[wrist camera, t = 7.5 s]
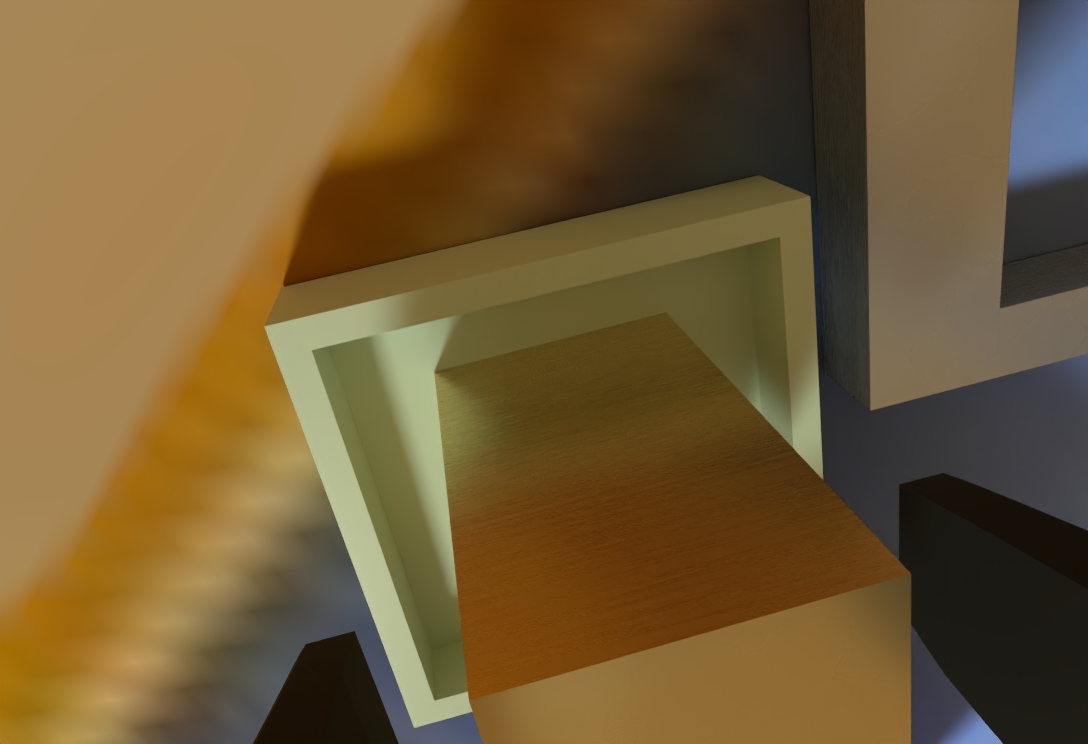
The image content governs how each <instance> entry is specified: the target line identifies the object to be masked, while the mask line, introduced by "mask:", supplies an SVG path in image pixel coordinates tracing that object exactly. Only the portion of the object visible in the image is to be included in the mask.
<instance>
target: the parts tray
mask: <svg viewBox="0 0 1088 744" xmlns="http://www.w3.org/2000/svg"><path fill="white" fill-rule="evenodd" d="M665 312H666V313H667V314H668V315H669V316H670V317H671V318H672V319H673V320H674V321H675V323H676V324H677V325H678V326H679V327H680V328H681V329H682V330H683V331H684V332H685V333H686V334H687V335H688V336H689V337H690V338H691V340H692V341H693V342H694V343H695V344H696V345H697V346H698V347H699V348H700V349H701V350H702V351H703V352H704V353H705V354H706V356H707V357H708V358H709V359H710V360H711V361H712V362H713V363H714V364H715V365H716V366H717V367H718V368H719V369H720V370H721V372H722V373H723V374H724V375H725V376H726V377H727V378H728V379H729V380H730V381H731V382H732V383H733V384H734V385H735V386H736V388H737V389H738V390H739V391H740V392H741V393H742V394H743V395H744V396H745V397H746V398H747V399H748V400H749V401H750V402H751V404H752V405H753V406H754V407H755V408H756V409H757V410H758V411H759V412H760V413H761V414H762V415H763V416H764V417H765V418H766V420H767V421H768V422H769V423H770V424H771V425H772V426H773V427H774V428H775V429H776V430H777V431H778V432H779V433H780V434H781V436H782V437H783V438H784V439H785V440H786V441H787V442H788V443H789V444H790V445H791V446H792V447H793V448H794V449H795V450H796V452H797V453H798V454H799V455H800V456H801V457H802V458H803V459H804V460H805V461H806V462H807V463H808V464H809V465H810V466H811V468H812V469H813V470H814V471H815V472H816V473H817V474H818V475H819V476H820V477H821V478H822V479H823V464H822V442H821V420H820V398H819V376H818V354H817V332H816V310H815V288H814V266H813V244H812V222H811V200H810V196H809V195H806V194H804V193H801V192H799V191H797V190H794V189H792V188H789V187H787V186H784V185H782V184H780V183H777V182H775V181H772V180H770V179H767V178H765V177H763V176H760V175H757V176H753V177H749V178H744V179H740V180H736V181H732V182H727V183H723V184H719V185H715V186H710V187H706V188H702V189H698V190H693V191H689V192H685V193H681V194H676V195H672V196H668V197H664V198H659V199H655V200H651V201H647V202H642V203H638V204H634V205H630V206H625V207H621V208H617V209H613V210H608V211H604V212H600V213H596V214H591V215H587V216H583V217H579V218H574V219H570V220H566V221H562V222H557V223H553V224H549V225H545V226H541V227H536V228H532V229H528V230H524V231H519V232H515V233H511V234H507V235H502V236H498V237H494V238H490V239H485V240H481V241H477V242H473V243H468V244H464V245H460V246H456V247H451V248H447V249H443V250H439V251H434V252H430V253H426V254H422V255H417V256H413V257H409V258H405V259H400V260H396V261H392V262H388V263H383V264H379V265H375V266H371V267H366V268H362V269H358V270H354V271H349V272H345V273H341V274H337V275H332V276H328V277H324V278H320V279H315V280H311V281H307V282H303V283H298V284H294V285H290V286H286V287H282V288H281V290H280V292H279V295H278V297H277V299H276V301H275V304H274V306H273V308H272V310H271V313H270V315H269V317H268V319H267V322H266V324H265V326H264V327H265V330H266V332H267V335H268V338H269V340H270V343H271V346H272V348H273V351H274V354H275V356H276V359H277V362H278V364H279V367H280V370H281V372H282V375H283V378H284V381H285V383H286V386H287V389H288V391H289V394H290V397H291V399H292V402H293V405H294V407H295V410H296V413H297V415H298V418H299V421H300V423H301V426H302V429H303V431H304V434H305V437H306V439H307V442H308V445H309V447H310V450H311V453H312V455H313V458H314V461H315V464H316V466H317V469H318V472H319V474H320V477H321V480H322V482H323V485H324V488H325V490H326V493H327V496H328V498H329V501H330V504H331V506H332V509H333V512H334V514H335V517H336V520H337V522H338V525H339V528H340V530H341V533H342V536H343V538H344V541H345V544H346V547H347V549H348V552H349V555H350V557H351V560H352V563H353V565H354V568H355V571H356V573H357V576H358V579H359V581H360V584H361V587H362V589H363V592H364V595H365V597H366V600H367V603H368V605H369V608H370V611H371V613H372V616H373V619H374V622H375V624H376V627H377V630H378V632H379V635H380V638H381V640H382V643H383V646H384V648H385V651H386V654H387V656H388V659H389V662H390V664H391V667H392V670H393V672H394V675H395V678H396V680H397V683H398V686H399V688H400V691H401V694H402V696H403V699H404V702H405V705H406V707H407V710H408V713H409V715H410V718H411V721H412V723H413V726H414V728H416V727H419V726H423V725H426V724H430V723H434V722H437V721H441V720H444V719H448V718H451V717H455V716H459V715H462V714H466V713H469V712H472V709H471V706H470V703H469V697H468V688H467V678H466V669H465V659H464V650H463V640H462V631H461V621H460V612H459V602H458V593H457V583H456V574H455V564H454V555H453V546H452V536H451V527H450V517H449V508H448V498H447V489H446V479H445V470H444V460H443V451H442V441H441V432H440V422H439V413H438V403H437V394H436V384H435V375H434V372H435V371H439V370H443V369H447V368H451V367H455V366H459V365H462V364H466V363H470V362H474V361H478V360H482V359H486V358H490V357H494V356H498V355H501V354H505V353H509V352H513V351H517V350H521V349H525V348H529V347H533V346H537V345H540V344H544V343H548V342H552V341H556V340H560V339H564V338H568V337H572V336H576V335H579V334H583V333H587V332H591V331H595V330H599V329H603V328H607V327H611V326H614V325H618V324H622V323H626V322H630V321H634V320H638V319H642V318H646V317H650V316H653V315H657V314H661V313H665Z"/></svg>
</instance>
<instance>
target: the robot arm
mask: <svg viewBox="0 0 1088 744" xmlns="http://www.w3.org/2000/svg"><path fill="white" fill-rule="evenodd" d="M899 561H900V562H901V564H902V565H903V566H904V567H905V568H906V569H907V570H908V571H909V572H910V573H911V624H912V626H913V628H914V629H915V631H916V632H917V634H918V635H919V637H920V638H921V640H922V642H923V643H924V645H925V646H926V647H927V649H928V650H929V652H930V653H931V655H932V656H933V658H934V659H935V661H936V662H937V664H938V665H939V667H940V668H941V669H942V671H943V672H944V674H945V675H946V676H947V677H948V679H949V680H950V681H951V682H952V684H953V685H954V686H955V687H956V688H957V690H958V691H959V692H960V693H961V694H962V696H963V697H964V698H965V699H966V700H967V701H968V703H969V704H970V705H971V706H972V707H973V709H974V710H975V711H976V712H977V713H978V715H979V716H980V717H981V718H982V719H983V720H984V722H985V723H986V724H987V725H988V726H989V728H990V729H991V730H992V731H993V732H994V733H995V735H996V736H997V737H998V738H999V739H1000V740H1001V742H1002V743H1003V744H1088V531H1087V530H1085V529H1082V528H1080V527H1077V526H1075V525H1073V524H1070V523H1068V522H1065V521H1063V520H1060V519H1058V518H1055V517H1053V516H1051V515H1048V514H1046V513H1043V512H1041V511H1039V510H1036V509H1034V508H1031V507H1029V506H1026V505H1024V504H1022V503H1019V502H1017V501H1014V500H1012V499H1009V498H1007V497H1005V496H1002V495H1000V494H997V493H995V492H992V491H990V490H987V489H985V488H982V487H980V486H977V485H975V484H972V483H970V482H967V481H964V480H962V479H959V478H956V477H953V476H950V475H948V474H945V473H941V474H938V475H934V476H930V477H926V478H923V479H919V480H915V481H912V482H908V483H904V484H900V485H899ZM253 744H398V741H397V739H396V736H395V733H394V731H393V728H392V726H391V723H390V721H389V718H388V716H387V713H386V710H385V708H384V705H383V703H382V700H381V698H380V695H379V693H378V690H377V687H376V685H375V682H374V680H373V677H372V675H371V672H370V669H369V667H368V664H367V662H366V659H365V657H364V654H363V652H362V649H361V646H360V644H359V641H358V639H357V636H356V634H355V631H353V632H350V633H346V634H342V635H339V636H335V637H331V638H327V639H324V640H320V641H316V642H312V643H309V644H306V645H305V647H304V648H303V650H302V651H301V653H300V654H299V656H298V658H297V660H296V662H295V664H294V666H293V668H292V670H291V672H290V674H289V676H288V677H287V679H286V681H285V683H284V685H283V687H282V689H281V691H280V693H279V695H278V697H277V699H276V701H275V703H274V705H273V707H272V709H271V710H270V712H269V714H268V716H267V718H266V720H265V722H264V724H263V726H262V728H261V729H260V731H259V733H258V735H257V737H256V739H255V741H254V743H253Z"/></svg>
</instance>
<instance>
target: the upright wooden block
mask: <svg viewBox="0 0 1088 744" xmlns="http://www.w3.org/2000/svg"><path fill="white" fill-rule="evenodd" d="M434 375H435V384H436V394H437V403H438V413H439V422H440V432H441V441H442V451H443V460H444V470H445V479H446V489H447V498H448V508H449V517H450V527H451V536H452V546H453V555H454V564H455V574H456V583H457V593H458V602H459V612H460V621H461V631H462V640H463V650H464V659H465V669H466V678H467V688H468V697H469V703H470V706H471V709H472V712H473V715H474V717H475V720H476V723H477V726H478V729H479V732H480V735H481V738H482V741H483V744H911V573H910V572H909V571H908V570H907V569H906V568H905V567H904V566H903V565H902V564H901V562H900V561H899V560H898V559H897V558H896V557H895V556H894V555H893V554H892V553H891V552H890V551H889V550H888V549H887V548H886V546H885V545H884V544H883V543H882V542H881V541H880V540H879V539H878V538H877V537H876V536H875V535H874V534H873V533H872V532H871V530H870V529H869V528H868V527H867V526H866V525H865V524H864V523H863V522H862V521H861V520H860V519H859V518H858V517H857V516H856V514H855V513H854V512H853V511H852V510H851V509H850V508H849V507H848V506H847V505H846V504H845V503H844V502H843V501H842V500H841V498H840V497H839V496H838V495H837V494H836V493H835V492H834V491H833V490H832V489H831V488H830V487H829V486H828V485H827V484H826V482H825V481H824V480H823V479H822V478H821V477H820V476H819V475H818V474H817V473H816V472H815V471H814V470H813V469H812V468H811V466H810V465H809V464H808V463H807V462H806V461H805V460H804V459H803V458H802V457H801V456H800V455H799V454H798V453H797V452H796V450H795V449H794V448H793V447H792V446H791V445H790V444H789V443H788V442H787V441H786V440H785V439H784V438H783V437H782V436H781V434H780V433H779V432H778V431H777V430H776V429H775V428H774V427H773V426H772V425H771V424H770V423H769V422H768V421H767V420H766V418H765V417H764V416H763V415H762V414H761V413H760V412H759V411H758V410H757V409H756V408H755V407H754V406H753V405H752V404H751V402H750V401H749V400H748V399H747V398H746V397H745V396H744V395H743V394H742V393H741V392H740V391H739V390H738V389H737V388H736V386H735V385H734V384H733V383H732V382H731V381H730V380H729V379H728V378H727V377H726V376H725V375H724V374H723V373H722V372H721V370H720V369H719V368H718V367H717V366H716V365H715V364H714V363H713V362H712V361H711V360H710V359H709V358H708V357H707V356H706V354H705V353H704V352H703V351H702V350H701V349H700V348H699V347H698V346H697V345H696V344H695V343H694V342H693V341H692V340H691V338H690V337H689V336H688V335H687V334H686V333H685V332H684V331H683V330H682V329H681V328H680V327H679V326H678V325H677V324H676V323H675V321H674V320H673V319H672V318H671V317H670V316H669V315H668V314H667V313H666V312H665V313H661V314H657V315H653V316H650V317H646V318H642V319H638V320H634V321H630V322H626V323H622V324H618V325H614V326H611V327H607V328H603V329H599V330H595V331H591V332H587V333H583V334H579V335H576V336H572V337H568V338H564V339H560V340H556V341H552V342H548V343H544V344H540V345H537V346H533V347H529V348H525V349H521V350H517V351H513V352H509V353H505V354H501V355H498V356H494V357H490V358H486V359H482V360H478V361H474V362H470V363H466V364H462V365H459V366H455V367H451V368H447V369H443V370H439V371H435V372H434Z"/></svg>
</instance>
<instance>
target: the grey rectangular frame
mask: <svg viewBox="0 0 1088 744" xmlns="http://www.w3.org/2000/svg"><path fill="white" fill-rule="evenodd" d="M1018 10H1019V0H809V13H810V37H811V61H812V85H813V109H814V133H815V157H816V181H817V205H818V229H819V253H820V277H821V301H822V325H823V349H824V373H825V374H826V375H827V376H828V377H830V378H831V379H832V380H833V381H835V382H836V383H837V384H838V385H839V386H841V387H842V388H843V389H844V390H846V391H847V392H848V393H849V394H851V395H852V396H853V397H854V398H855V399H857V400H858V401H859V402H860V403H862V404H863V405H864V406H865V407H867V408H868V409H869V410H870V411H871V410H875V409H879V408H883V407H887V406H890V405H894V404H898V403H902V402H906V401H910V400H913V399H917V398H921V397H925V396H929V395H933V394H936V393H940V392H944V391H948V390H952V389H955V388H959V387H963V386H967V385H971V384H975V383H978V382H982V381H986V380H990V379H994V378H997V377H1001V376H1005V375H1009V374H1013V373H1017V372H1020V371H1024V370H1028V369H1032V368H1036V367H1040V366H1043V365H1047V364H1051V363H1055V362H1059V361H1062V360H1066V359H1070V358H1074V357H1078V356H1082V355H1085V354H1088V244H1084V245H1080V246H1076V247H1072V248H1068V249H1064V250H1060V251H1056V252H1052V253H1048V254H1044V255H1040V256H1036V257H1032V258H1028V259H1024V260H1020V261H1016V262H1012V263H1008V264H1004V265H1002V264H1003V248H1004V232H1005V216H1006V200H1007V185H1008V169H1009V153H1010V137H1011V121H1012V105H1013V89H1014V73H1015V57H1016V41H1017V25H1018Z"/></svg>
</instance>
